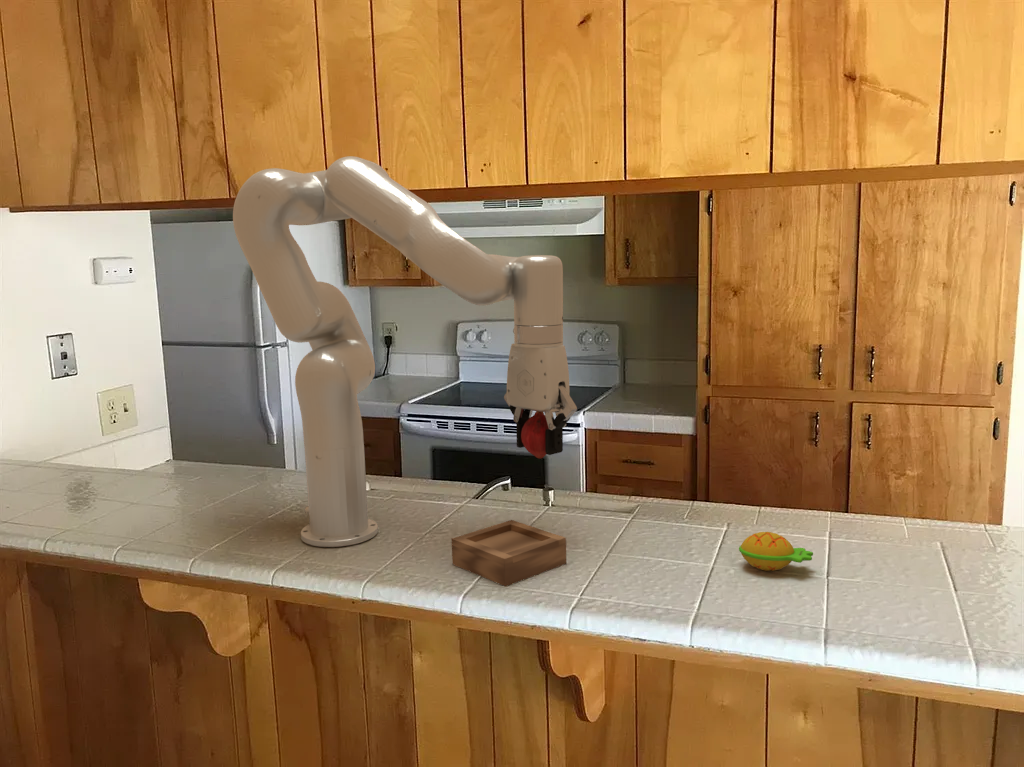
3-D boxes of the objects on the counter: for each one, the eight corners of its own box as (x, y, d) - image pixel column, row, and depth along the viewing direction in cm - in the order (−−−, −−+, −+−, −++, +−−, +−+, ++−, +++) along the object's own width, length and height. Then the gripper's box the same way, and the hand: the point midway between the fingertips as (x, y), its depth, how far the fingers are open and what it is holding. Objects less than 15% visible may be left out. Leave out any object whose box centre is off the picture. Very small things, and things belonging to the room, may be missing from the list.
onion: (554, 463, 130) (554, 412, 129) (518, 462, 131) (517, 411, 130) (560, 454, 136) (560, 405, 134) (525, 453, 137) (524, 405, 136)
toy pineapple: (742, 557, 125) (743, 522, 125) (814, 565, 121) (815, 530, 121) (735, 574, 119) (735, 537, 118) (810, 583, 115) (811, 545, 114)
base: (452, 564, 126) (451, 538, 125) (512, 544, 134) (511, 519, 133) (505, 586, 117) (504, 559, 116) (566, 563, 125) (565, 537, 124)
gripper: (484, 334, 134) (486, 444, 137) (561, 342, 122) (561, 463, 124) (518, 330, 139) (520, 437, 142) (596, 338, 126) (596, 455, 129)
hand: (539, 448), depth 133 cm, fingers closed on onion, 5 cm apart
